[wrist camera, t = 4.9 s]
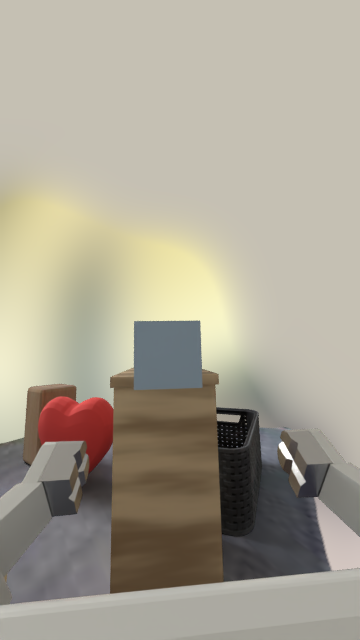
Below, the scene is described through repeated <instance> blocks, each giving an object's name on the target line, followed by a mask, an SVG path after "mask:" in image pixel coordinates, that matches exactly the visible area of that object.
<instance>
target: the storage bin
mask: <svg viewBox="0 0 360 640" xmlns="http://www.w3.org/2000/svg"><path fill="white" fill-rule="evenodd" d="M216 414H229V415H240V416H241V417H240V420H239V422H238V423H235V422H224V421H217V425H218V426H217V429H219V430H217V436H219V437H217V438H218V440H219V441H218V444H219V445H218V462H219V486H220V509H221V533H224V534H228V535H232V536H241V535H245V534H248V533H249V532H251V530H252V529H253V527H254V523H255V515H256V508H257V501H258V493H259V486H260V478H261V470H262V461H261V450H260V449H261V446H260V434H259V418H258V416H259V415H258V412H257V411H254V410H249V409H233V408H219V407H216ZM245 416H246V417H245ZM245 420H246V421H245ZM241 423H242V424H241ZM245 423H247V425H246V424H245ZM221 425H223V426H221ZM226 426H228V427H226ZM230 426H232V427H230ZM236 427H237V428H236ZM240 427H242V428H240ZM221 429H223V430H221ZM227 430H228V431H227ZM230 430H233V431H230ZM240 431H242V432H240ZM246 431H247V432H246ZM221 433H223V434H221ZM226 433H227V434H226ZM231 434H233V435H231ZM236 434H237V435H236ZM241 435H243V436H241ZM246 435H247V436H246ZM221 437H223V438H221ZM226 437H227V438H226ZM231 438H233V439H231ZM236 438H238V439H236ZM241 439H242V440H241ZM222 441H224V442H222ZM226 441H228V442H226ZM232 442H233V443H232ZM236 442H237V443H236ZM242 443H243V444H242ZM227 445H229V446H227ZM232 446H233V447H232ZM236 446H238V447H236Z"/></svg>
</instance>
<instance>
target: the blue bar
mask: <svg viewBox="0 0 360 640" xmlns="http://www.w3.org/2000/svg"><path fill="white" fill-rule="evenodd" d="M201 361H202V360H201V332H200V321H135V322H134V390H151V389H181V388H202V362H201Z"/></svg>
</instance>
